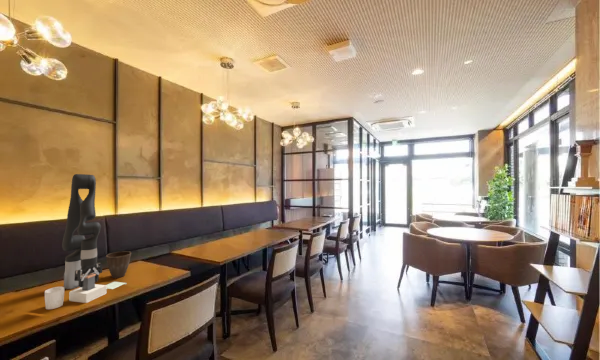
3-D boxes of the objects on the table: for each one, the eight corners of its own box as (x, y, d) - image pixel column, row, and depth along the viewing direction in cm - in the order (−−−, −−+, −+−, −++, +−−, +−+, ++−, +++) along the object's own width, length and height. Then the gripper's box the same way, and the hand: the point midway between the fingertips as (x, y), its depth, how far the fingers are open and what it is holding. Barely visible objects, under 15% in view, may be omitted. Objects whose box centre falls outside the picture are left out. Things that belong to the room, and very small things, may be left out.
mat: (99, 289, 162) (99, 287, 162) (114, 283, 172) (114, 281, 172) (112, 290, 160) (112, 289, 160) (126, 284, 170) (126, 282, 170)
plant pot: (108, 274, 188) (109, 252, 188) (132, 271, 194) (132, 250, 194) (103, 281, 175) (103, 258, 175) (128, 278, 181) (129, 255, 181)
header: (69, 302, 145) (69, 291, 145) (90, 293, 156) (90, 283, 156) (86, 304, 142) (86, 293, 142) (106, 295, 154) (106, 285, 154)
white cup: (41, 312, 133) (41, 293, 133) (48, 305, 140) (48, 287, 140) (60, 309, 136) (60, 291, 136) (66, 303, 144) (67, 285, 144)
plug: (81, 298, 148) (81, 276, 148) (89, 294, 152) (89, 273, 152) (87, 299, 147) (87, 276, 147) (95, 295, 151) (95, 273, 151)
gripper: (95, 252, 157) (95, 279, 157) (70, 259, 143) (70, 288, 143) (105, 253, 156) (105, 280, 156) (81, 260, 142) (81, 289, 142)
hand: (88, 284), depth 149 cm, fingers open, 8 cm apart
